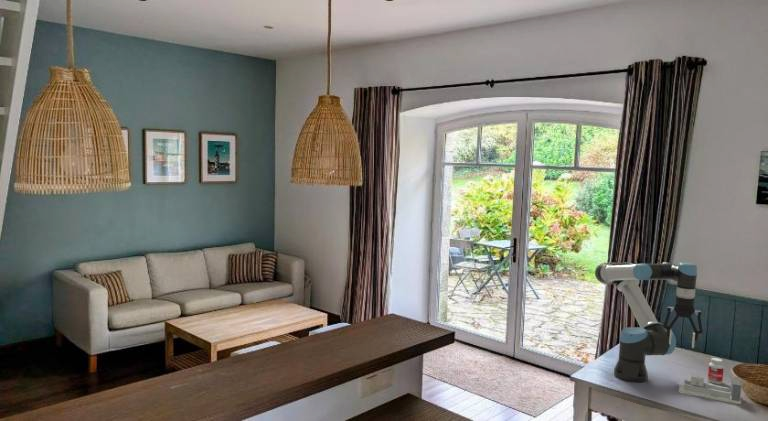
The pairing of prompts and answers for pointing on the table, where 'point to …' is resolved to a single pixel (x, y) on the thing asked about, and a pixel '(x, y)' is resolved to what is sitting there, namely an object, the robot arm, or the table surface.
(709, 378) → the pill bottle
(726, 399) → the base
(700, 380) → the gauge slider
